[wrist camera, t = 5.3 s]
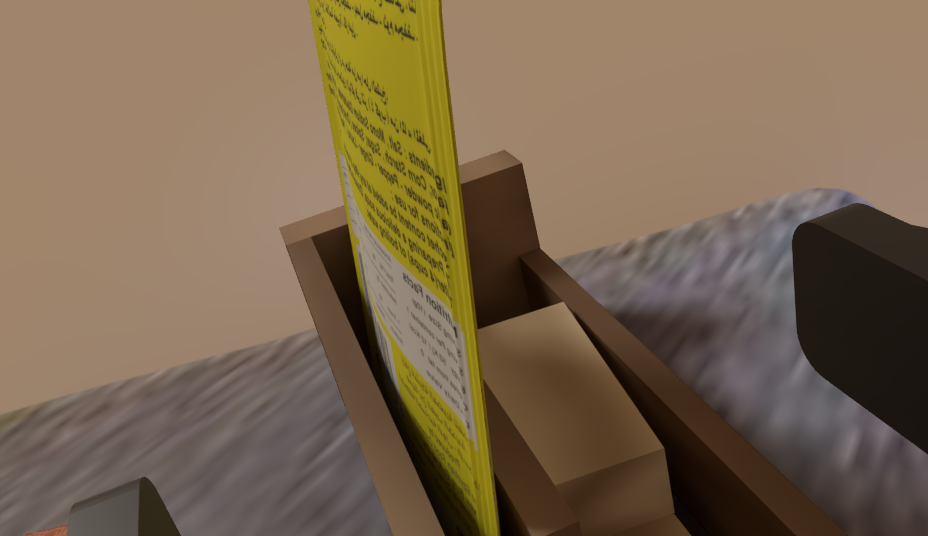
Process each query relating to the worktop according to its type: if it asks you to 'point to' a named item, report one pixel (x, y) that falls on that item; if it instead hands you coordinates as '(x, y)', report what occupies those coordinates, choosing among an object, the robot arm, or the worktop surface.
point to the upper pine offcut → (577, 420)
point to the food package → (411, 241)
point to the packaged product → (51, 532)
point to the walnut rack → (514, 464)
